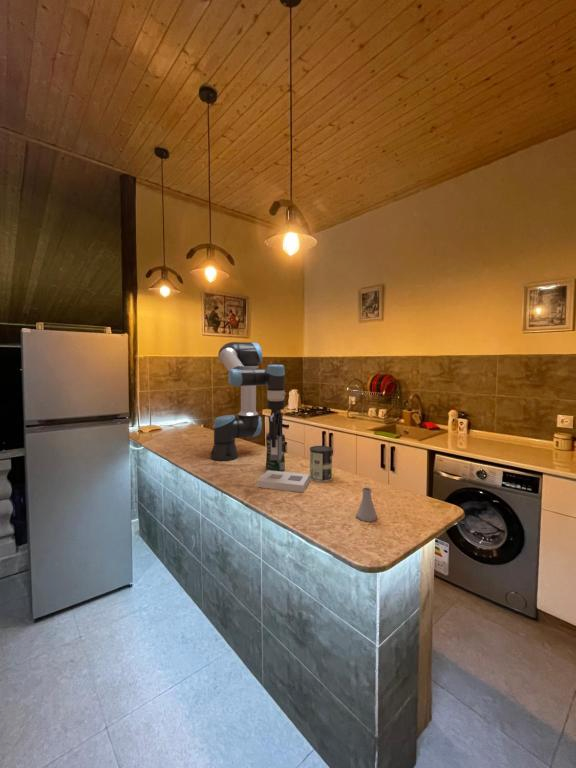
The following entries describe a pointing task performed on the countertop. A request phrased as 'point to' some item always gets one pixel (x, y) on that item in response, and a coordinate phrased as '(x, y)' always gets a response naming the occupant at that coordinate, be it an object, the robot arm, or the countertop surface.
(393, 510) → the countertop surface
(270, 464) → the coffee jar
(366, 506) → the flask
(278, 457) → the cylinder
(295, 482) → the outlet plate
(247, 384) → the robot arm
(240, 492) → the countertop surface
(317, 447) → the coffee can
